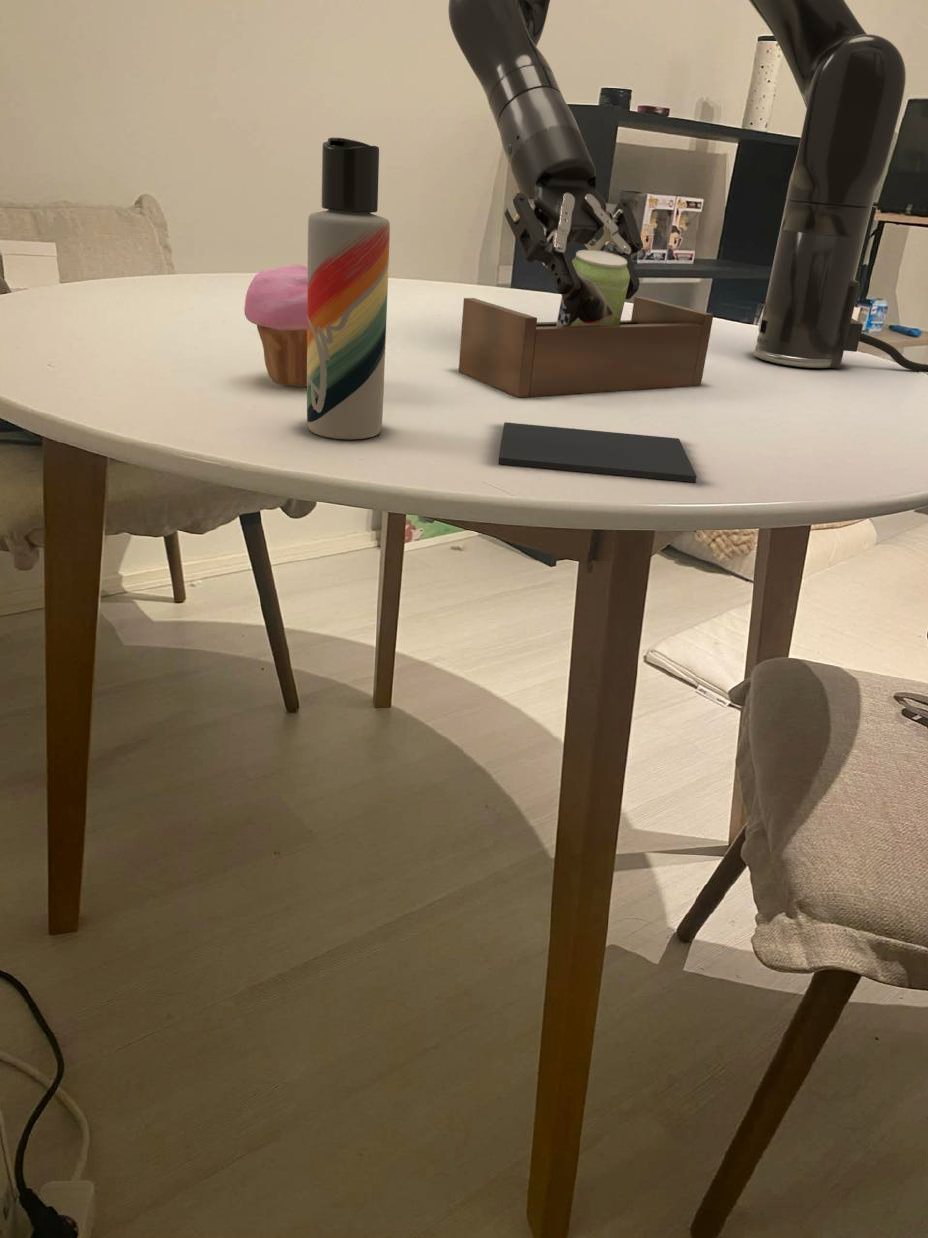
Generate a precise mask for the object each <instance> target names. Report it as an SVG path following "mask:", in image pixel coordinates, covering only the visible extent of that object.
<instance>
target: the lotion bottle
mask: <svg viewBox="0 0 928 1238" xmlns="http://www.w3.org/2000/svg"><path fill="white" fill-rule="evenodd" d="M321 162H322V163H321V208H322V209H324V210H321V211H316V212H313V213H310V214H309V215H308V220H307V268H308V285H307V386H306V423H307V428H308V430H309V431H310V432H311V433H313V434H315V435H317V436H320V437H324V438H329V439H337V440H362V439H368V438H372V437H375V436H377V435H379V434H380V433H381V431H382V427H383V426H382V425H383V416H384V415H383V414H384V412H383V411H384V395H385V394H384V392H385V390H384V389H385V365H386V343H387V341H386V339H387V319H388V317H387V315H388V292H389V291H388V290H389V269H390V268H389V267H390V266H389V265H390V238H391V237H390V235H391V234H390V233H391V224H390V221H389V219H387V218H385V217H382V216H380V215H377V214H374V213H378V207H379V173H380V171H379V170H380V147H378V146H377V145H370V144H368V143H365V142H362V141H358V140H354V139H351V138H344V137H329V138H327V141H324V142H323V143H322V153H321Z"/></svg>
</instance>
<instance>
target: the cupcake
mask: <svg viewBox="0 0 928 1238" xmlns="http://www.w3.org/2000/svg"><path fill="white" fill-rule="evenodd" d="M307 285H308V266H305V265H302V264H293V265H288V266H282V267H281V266H280V267H276V268H270V269H265V270H261V271H259V272H258V273H256V274H255V276H254V277H253V278H252V280H251V282H250V284H249V286H248V288H247V290H246V295H245V300H244V308H243V310H244V316H245V318H246V320H247V321H248V322H250V323H251V324H254V325H255V326H256V328H257V332H258V335H259V339H260V341H261V344H262V348H263V359H264V364H265V368H266V372H267V375H268V377H269V379H271V381H272V382H273V383H275V384H278V385H282V386H299V387H307Z"/></svg>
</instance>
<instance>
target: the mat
mask: <svg viewBox="0 0 928 1238" xmlns="http://www.w3.org/2000/svg"><path fill="white" fill-rule="evenodd" d="M498 464H499V465H506V466H517V467H527V468H528V467H529V468H539V469H548V470H559V471H569V472H581V473H589V474H590V473H592V474H603V475H612V476H622V477H633V478H644V479H645V478H646V479H654V480H664V481H665V480H666V481H676V482H686V483H696V482H697V478H698V477H697V474H696V472H695V470H694V468H693V465H692V463H691V461H690V459H689V457H688V455H687V453H686V450H685V448H684V446H683V444H682V442H681V440H680V438H677V437H670V436H669V437H666V436H657V435H647V434H646V435H645V434H637V433H636V434H634V433H625V432H614V431H613V432H612V431H602V430H593V429H583V428H582V429H580V428H573V427H572V428H570V427H560V426H548V425H538V424H528V423H519V422H518V423H516V422H505V421H504V423H503V429H502V436H501V442H500V449H499V455H498Z"/></svg>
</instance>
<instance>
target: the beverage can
mask: <svg viewBox="0 0 928 1238" xmlns="http://www.w3.org/2000/svg"><path fill="white" fill-rule="evenodd" d="M571 261H572V263H573V266H574V268H575V271H576V273H577V276H578V278H579V281H580V284H581V288H580V290H579V292H578V293H577V294H576V295H575V297H574V298H573V299H572V300H564V299H563V297H562V296H561V299H560V305H559V310H558V315H557V320H556V322H557V325H556V326H591V325H619V324H620V321H621V319H622V317H623V316H622V315H623V311H624V308H625V307H624V306H625V303H626V302H625V301H626V300H625V298H626V293H627V289H628V285H629V280H630V274H629V271H628V269H627V260H626V259H624V258H623V257H621V256H618V255H615V254H614V253H613V254H612V253H608V252H603V251H597V250H588V249H581V250H577V251H576V252H575V256H574V258H573V259H571Z"/></svg>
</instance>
